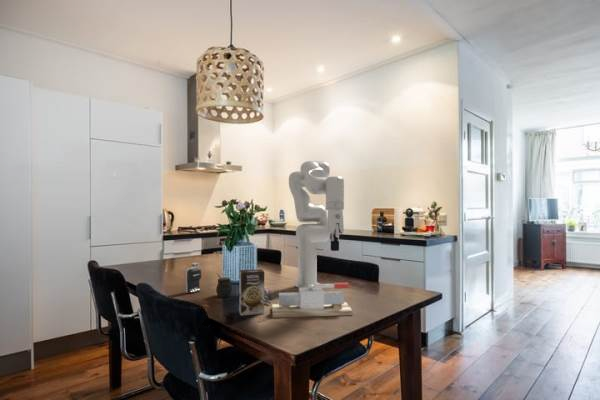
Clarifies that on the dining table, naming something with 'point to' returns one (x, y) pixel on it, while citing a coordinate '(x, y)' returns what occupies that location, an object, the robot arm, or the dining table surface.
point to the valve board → (311, 311)
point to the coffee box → (251, 292)
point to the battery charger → (193, 280)
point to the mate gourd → (224, 287)
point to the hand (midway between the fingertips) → (334, 250)
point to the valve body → (311, 298)
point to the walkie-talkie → (268, 295)
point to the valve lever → (329, 286)
